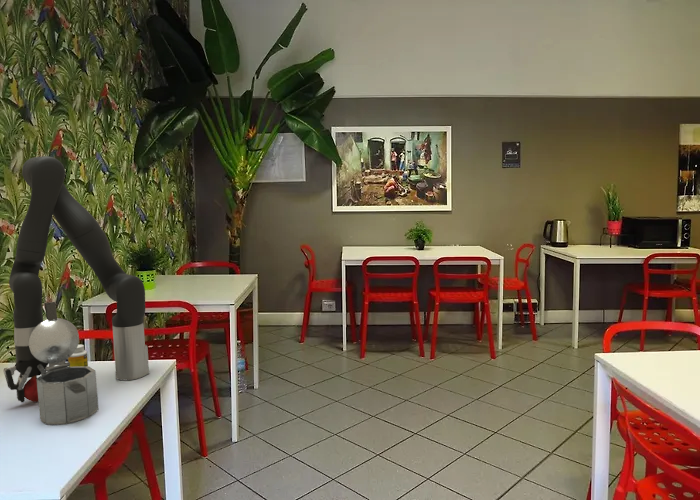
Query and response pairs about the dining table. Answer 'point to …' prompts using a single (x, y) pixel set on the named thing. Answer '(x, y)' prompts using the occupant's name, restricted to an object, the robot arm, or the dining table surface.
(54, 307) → the lid
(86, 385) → the pot
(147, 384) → the dining table surface
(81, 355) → the supplement bottle
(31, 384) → the onion
